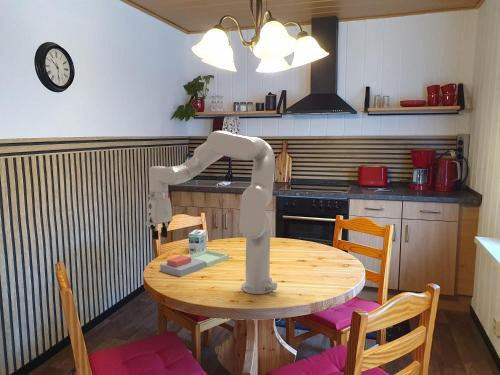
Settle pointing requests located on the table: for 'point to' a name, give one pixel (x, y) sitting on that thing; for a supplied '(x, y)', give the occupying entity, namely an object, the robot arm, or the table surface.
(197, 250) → the light bulb box
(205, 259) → the tray
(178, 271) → the grey flat slab
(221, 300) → the table surface
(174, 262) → the salmon red thick block
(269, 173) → the robot arm
